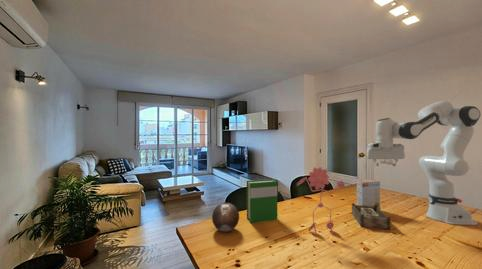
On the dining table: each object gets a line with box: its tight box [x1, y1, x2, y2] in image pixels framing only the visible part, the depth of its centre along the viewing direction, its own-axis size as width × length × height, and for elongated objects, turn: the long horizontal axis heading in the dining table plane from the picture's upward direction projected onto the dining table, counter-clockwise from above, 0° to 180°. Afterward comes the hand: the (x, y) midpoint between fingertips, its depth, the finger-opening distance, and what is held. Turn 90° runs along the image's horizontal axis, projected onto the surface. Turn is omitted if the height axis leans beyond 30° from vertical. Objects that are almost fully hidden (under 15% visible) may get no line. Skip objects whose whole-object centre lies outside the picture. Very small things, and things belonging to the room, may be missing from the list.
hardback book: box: [246, 178, 278, 224], centre depth 131 cm, size 18×7×24 cm, turn 105°
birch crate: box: [361, 208, 379, 218], centre depth 127 cm, size 6×12×5 cm, turn 165°
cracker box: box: [356, 179, 381, 210], centre depth 144 cm, size 14×6×21 cm, turn 100°
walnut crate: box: [351, 202, 391, 231], centre depth 127 cm, size 15×21×7 cm
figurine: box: [295, 166, 346, 236], centre depth 117 cm, size 15×26×35 cm, turn 96°
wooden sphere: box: [211, 202, 240, 232], centre depth 116 cm, size 15×15×15 cm
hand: (385, 166), depth 131 cm, fingers open, 8 cm apart
